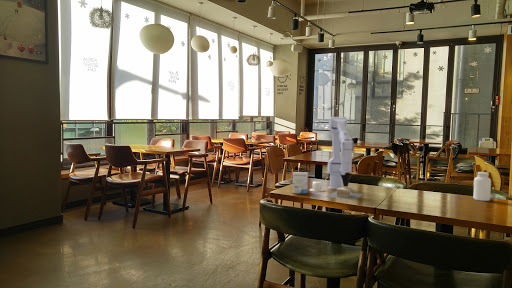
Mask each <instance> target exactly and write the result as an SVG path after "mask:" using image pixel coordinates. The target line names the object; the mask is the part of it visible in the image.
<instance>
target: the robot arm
mask: <svg viewBox="0 0 512 288" xmlns="http://www.w3.org/2000/svg"><path fill="white" fill-rule="evenodd" d="M347 125H348V119H347V117H346V116H330V117H329V120H328V130H329V132H331V134H332V135H331V139H332V141H331V142H332V143H331V146H332V149H331V151H332V155H331V156H332V157H331V158H330V159H329V160H328V162H327V165H326V166H327V170H326V171H327V173H328V174H329V186H328V187H327V189H334V190H337V189H338V188H340V187H345V188H348V187H349V182H350V180H351V177H352V175H353V173H352V172H353V171H352V168H353V167H352V166H353V165H352V163H353V160H352V159H353V151H354V149H355V143H354V140H353V139H351V136H350V134H349V132H348V131H347V129H346V127H347Z"/></svg>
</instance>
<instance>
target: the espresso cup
mask: <svg viewBox="0 0 512 288" xmlns="http://www.w3.org/2000/svg"><path fill="white" fill-rule="evenodd" d="M312 191H313V192H323V191H325V189H324V188H323V182H322V181H312V188H310V189H309V192H312Z"/></svg>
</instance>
